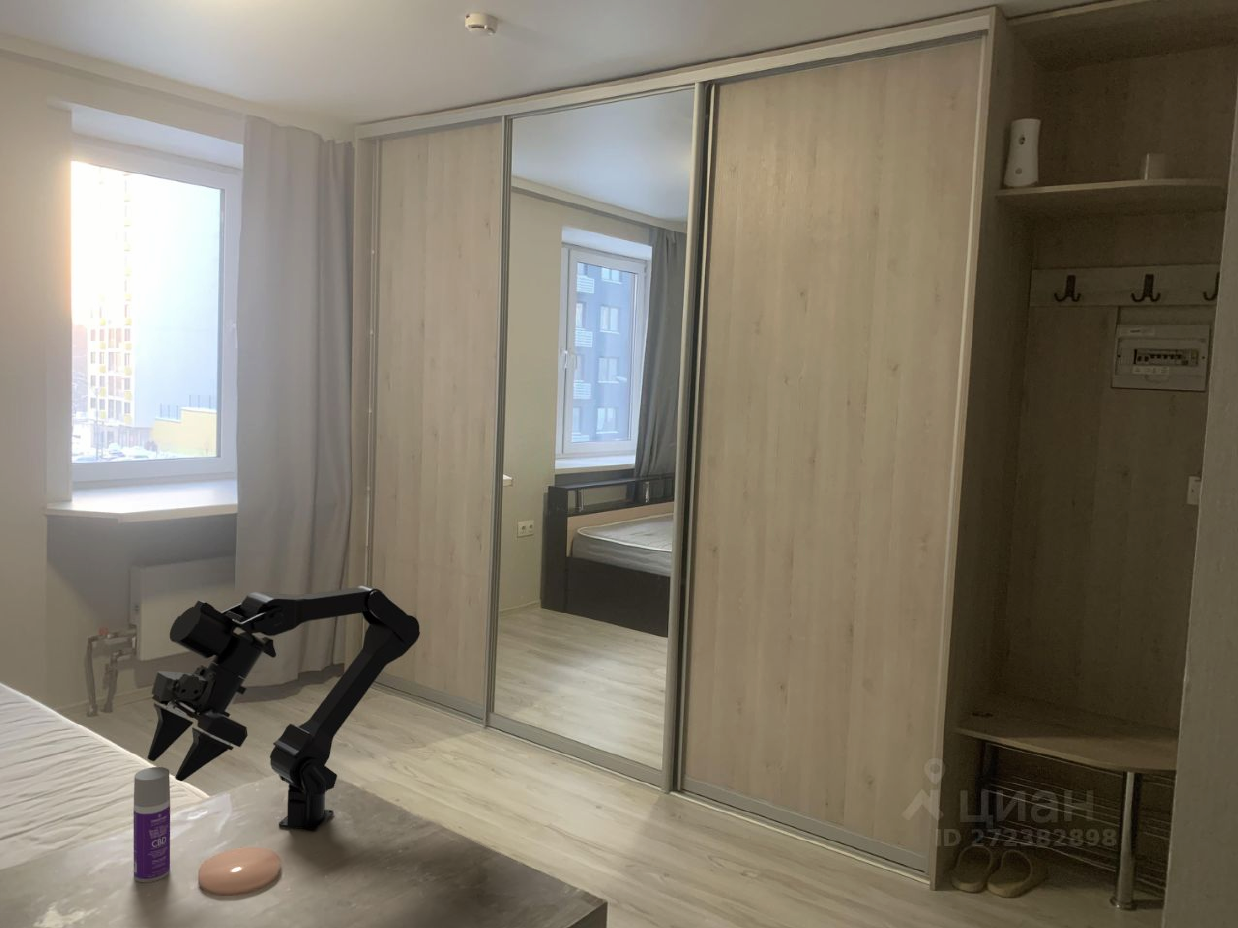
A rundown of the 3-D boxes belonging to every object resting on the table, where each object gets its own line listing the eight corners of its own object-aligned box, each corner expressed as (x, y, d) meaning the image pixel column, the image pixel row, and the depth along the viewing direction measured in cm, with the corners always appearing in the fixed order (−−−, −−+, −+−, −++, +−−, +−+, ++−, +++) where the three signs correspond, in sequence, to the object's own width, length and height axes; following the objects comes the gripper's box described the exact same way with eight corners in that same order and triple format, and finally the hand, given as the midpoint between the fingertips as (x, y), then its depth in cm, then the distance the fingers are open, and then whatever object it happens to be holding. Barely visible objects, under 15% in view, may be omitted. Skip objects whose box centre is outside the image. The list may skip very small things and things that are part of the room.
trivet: (228, 850, 138) (228, 842, 138) (294, 859, 136) (294, 852, 136) (181, 889, 127) (181, 880, 127) (252, 900, 125) (252, 892, 125)
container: (154, 884, 128) (154, 782, 127) (125, 879, 129) (125, 777, 128) (177, 867, 133) (177, 768, 131) (149, 862, 134) (149, 764, 132)
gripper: (156, 633, 136) (89, 730, 130) (214, 663, 124) (143, 771, 118) (215, 664, 144) (154, 757, 138) (275, 694, 132) (211, 798, 126)
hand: (163, 769), depth 130 cm, fingers open, 9 cm apart
